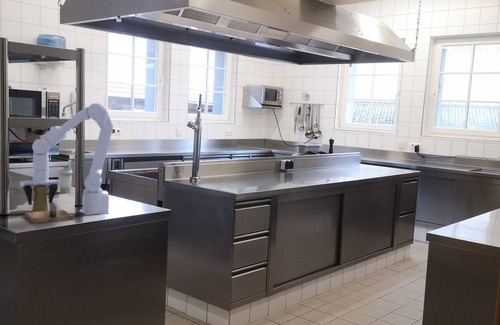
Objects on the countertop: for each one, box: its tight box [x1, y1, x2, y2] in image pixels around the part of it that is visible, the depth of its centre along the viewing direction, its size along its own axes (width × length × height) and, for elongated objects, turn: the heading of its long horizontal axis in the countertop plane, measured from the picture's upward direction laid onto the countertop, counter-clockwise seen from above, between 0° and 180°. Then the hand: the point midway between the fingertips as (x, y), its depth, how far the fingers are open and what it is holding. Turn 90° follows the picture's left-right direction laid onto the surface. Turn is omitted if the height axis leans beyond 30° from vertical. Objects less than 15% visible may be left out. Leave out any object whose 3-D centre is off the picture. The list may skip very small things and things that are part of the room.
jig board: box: [24, 209, 74, 224], centre depth 184 cm, size 14×12×2 cm
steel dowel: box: [49, 202, 58, 217], centre depth 180 cm, size 2×2×5 cm
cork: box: [31, 185, 49, 212], centre depth 193 cm, size 6×6×11 cm
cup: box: [57, 168, 74, 194], centre depth 236 cm, size 7×7×12 cm
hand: (40, 203), depth 193 cm, fingers open, 7 cm apart
